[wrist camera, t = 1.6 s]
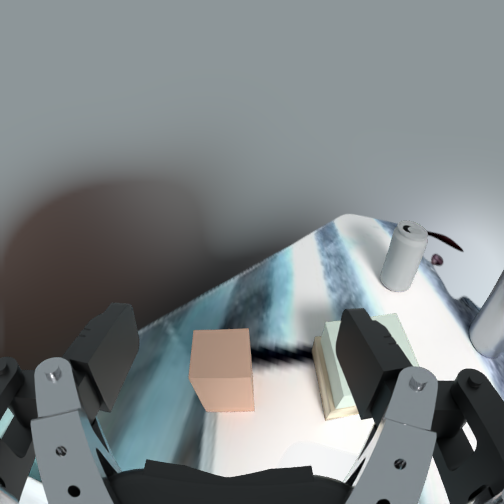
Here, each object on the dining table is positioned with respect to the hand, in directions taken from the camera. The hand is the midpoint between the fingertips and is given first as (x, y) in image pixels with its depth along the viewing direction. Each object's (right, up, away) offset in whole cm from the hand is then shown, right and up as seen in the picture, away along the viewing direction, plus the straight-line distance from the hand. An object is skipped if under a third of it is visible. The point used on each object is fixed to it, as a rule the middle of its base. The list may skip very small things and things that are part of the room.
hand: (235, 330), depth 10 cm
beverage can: (+27, -3, +37) cm, 46 cm away
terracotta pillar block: (-2, -15, +23) cm, 27 cm away
